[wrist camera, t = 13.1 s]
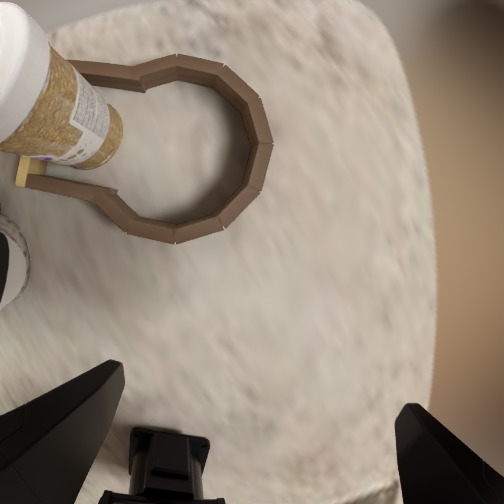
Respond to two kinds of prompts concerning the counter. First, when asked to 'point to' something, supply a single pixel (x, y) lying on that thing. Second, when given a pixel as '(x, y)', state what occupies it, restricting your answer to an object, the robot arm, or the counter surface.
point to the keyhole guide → (139, 81)
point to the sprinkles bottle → (49, 100)
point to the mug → (12, 261)
